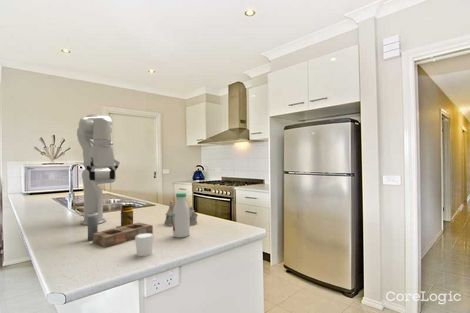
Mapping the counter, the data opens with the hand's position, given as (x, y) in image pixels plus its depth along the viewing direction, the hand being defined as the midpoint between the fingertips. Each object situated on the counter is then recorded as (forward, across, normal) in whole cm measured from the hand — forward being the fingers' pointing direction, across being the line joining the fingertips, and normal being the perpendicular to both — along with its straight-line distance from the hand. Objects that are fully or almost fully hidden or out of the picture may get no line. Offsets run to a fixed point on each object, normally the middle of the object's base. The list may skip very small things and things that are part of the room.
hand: (102, 179), depth 122 cm
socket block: (+27, -4, +11) cm, 30 cm away
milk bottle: (+28, -20, +31) cm, 46 cm away
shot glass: (+28, +4, +35) cm, 46 cm away
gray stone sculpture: (+27, -36, +15) cm, 48 cm away
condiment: (+26, -15, -5) cm, 31 cm away
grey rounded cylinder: (+27, +5, 0) cm, 27 cm away
